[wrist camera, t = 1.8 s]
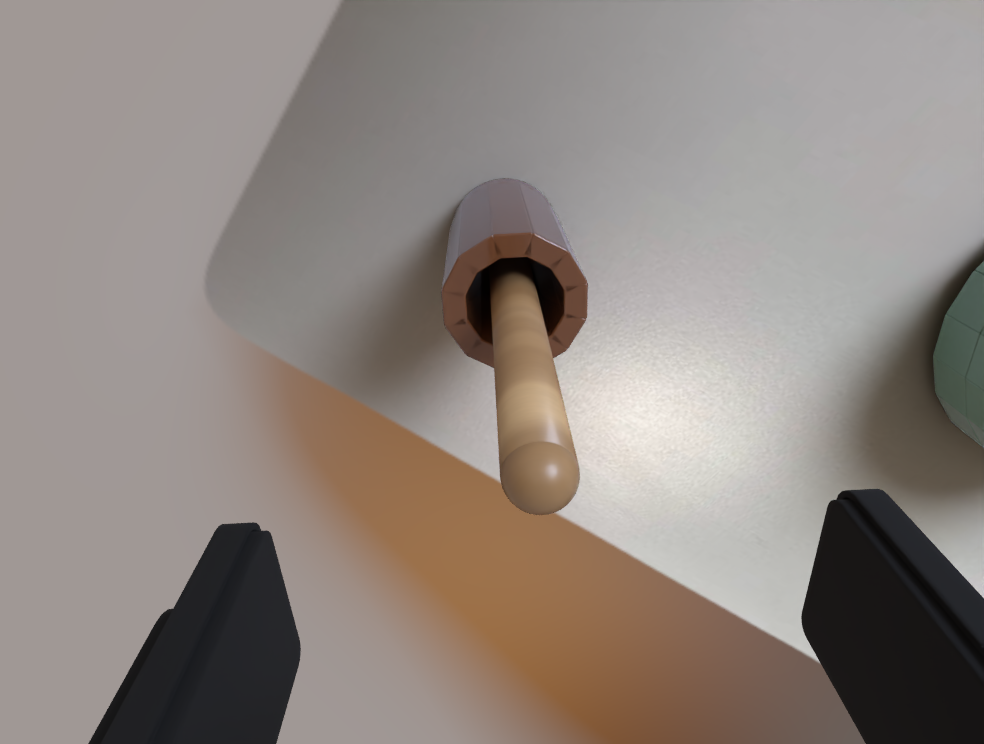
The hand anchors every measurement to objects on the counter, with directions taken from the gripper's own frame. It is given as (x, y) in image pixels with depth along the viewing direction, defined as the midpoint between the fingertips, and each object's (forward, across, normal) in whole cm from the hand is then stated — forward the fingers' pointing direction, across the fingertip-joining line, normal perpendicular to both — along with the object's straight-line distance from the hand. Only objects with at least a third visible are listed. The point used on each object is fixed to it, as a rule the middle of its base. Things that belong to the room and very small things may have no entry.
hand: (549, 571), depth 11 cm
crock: (+21, 0, 0) cm, 21 cm away
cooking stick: (+20, 0, 0) cm, 20 cm away
